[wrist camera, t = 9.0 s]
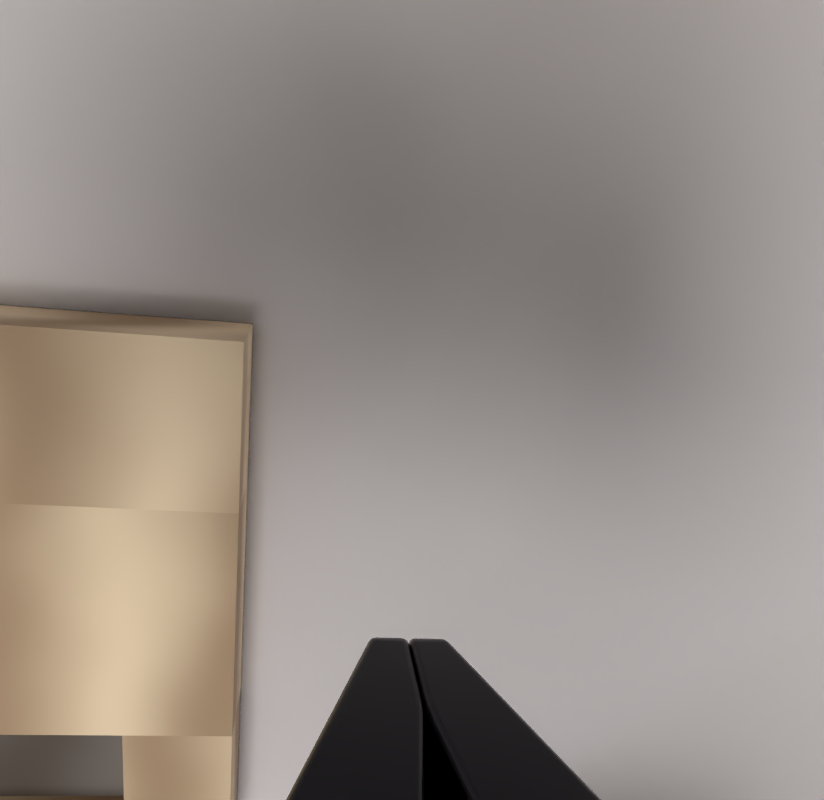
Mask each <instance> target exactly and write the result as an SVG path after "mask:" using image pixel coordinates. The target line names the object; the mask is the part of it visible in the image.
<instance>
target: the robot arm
mask: <svg viewBox="0 0 824 800" xmlns="http://www.w3.org/2000/svg"><path fill="white" fill-rule="evenodd" d="M286 800H600V799H599V798H598V797H597V796H596V794H595V793H594V792H593V791H592V790H591V789H590V788H589V787H588V786H587V785H586V784H585V783H584V782H583V781H582V780H581V779H580V778H579V777H578V776H577V775H576V774H575V773H574V772H573V771H572V770H571V769H570V768H569V767H568V766H567V765H566V763H565V762H564V761H563V760H562V759H561V758H560V757H559V756H558V755H557V754H556V753H555V752H554V751H553V750H552V749H551V748H550V747H549V746H548V745H547V744H546V743H545V742H544V741H543V740H542V739H541V738H540V737H539V736H538V735H537V733H536V732H535V731H534V730H533V729H532V728H531V727H530V726H529V725H528V724H527V723H526V722H525V721H524V720H523V719H522V718H521V717H520V716H519V715H518V714H517V713H516V712H515V711H514V710H513V709H512V708H511V707H510V706H509V705H508V704H507V702H506V701H505V700H504V699H503V698H502V697H501V696H500V695H499V694H498V693H497V692H496V691H495V690H494V689H493V688H492V687H491V686H490V685H489V684H488V683H487V682H486V681H485V680H484V679H483V678H482V677H481V676H480V675H479V674H478V672H477V671H476V670H475V669H474V668H473V667H472V666H471V665H470V664H469V663H468V662H467V661H466V660H465V659H464V658H463V657H462V656H461V655H460V654H459V653H458V652H457V651H456V650H455V649H454V648H453V647H452V646H451V645H450V644H449V643H448V642H447V641H445V640H443V639H412V640H411V641H410V642H409V644H408V642H407V641H406V640H405V639H402V638H373V639H371V640H370V641H369V642H368V644H367V646H366V648H365V650H364V652H363V654H362V656H361V658H360V660H359V661H358V663H357V665H356V667H355V669H354V671H353V673H352V675H351V677H350V679H349V681H348V683H347V684H346V686H345V688H344V690H343V692H342V694H341V696H340V698H339V700H338V702H337V704H336V706H335V707H334V709H333V711H332V713H331V715H330V717H329V719H328V721H327V723H326V725H325V727H324V728H323V730H322V732H321V734H320V736H319V738H318V740H317V742H316V744H315V746H314V748H313V750H312V751H311V753H310V755H309V757H308V759H307V761H306V763H305V765H304V767H303V769H302V771H301V773H300V774H299V776H298V778H297V780H296V782H295V784H294V786H293V788H292V790H291V792H290V794H289V796H288V797H287V799H286Z"/></svg>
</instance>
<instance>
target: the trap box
mask: <svg viewBox="0 0 824 800" xmlns="http://www.w3.org/2000/svg"><path fill="white" fill-rule="evenodd" d="M252 333H253V324H247V323H234V322H220V321H207V320H193V319H180V318H167V317H153V316H140V315H126V314H113V313H99V312H86V311H72V310H59V309H45V308H32V307H18V306H5V305H0V800H237V786H238V756H239V726H240V696H241V665H242V635H243V605H244V575H245V544H246V514H247V484H248V454H249V423H250V393H251V363H252Z"/></svg>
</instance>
